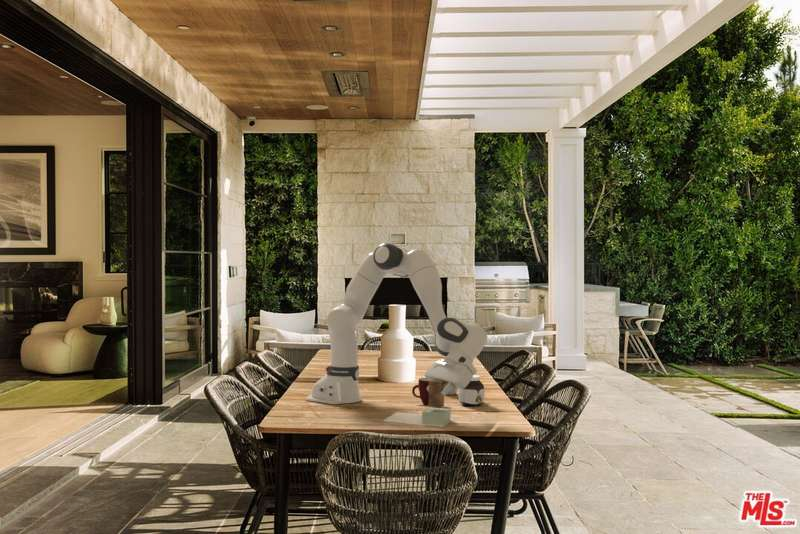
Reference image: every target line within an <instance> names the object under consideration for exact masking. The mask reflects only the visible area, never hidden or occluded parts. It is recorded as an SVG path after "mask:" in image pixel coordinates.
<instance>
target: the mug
mask: <svg viewBox="0 0 800 534" xmlns="http://www.w3.org/2000/svg"><path fill="white" fill-rule="evenodd" d="M428 386H429V380H428V379H427V378H426V377H421V378H418V384H415V385H414V386H413V387H412V389H411V391H412V392H411V393H412V395H413V396H414V397H415V398H418V399H420V401H421V402H422V404H423V405H424V404H425V405H426V406H429V391H428V390H427V387H428ZM417 388H418V391H419V395H417V394H416V392H415V390H416V389H417Z"/></svg>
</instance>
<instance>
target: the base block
mask: <svg viewBox="0 0 800 534" xmlns="http://www.w3.org/2000/svg"><path fill="white" fill-rule="evenodd" d="M421 415H422V423H424V424H435V425H444V426H446V425H445V424H448V423H449V422H450V421H451V420H450V417H451V409H450V408H443V407H441V408H435V407H429V406H428V407H427V408H425V409H424V410H422V411H421Z"/></svg>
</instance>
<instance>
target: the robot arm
mask: <svg viewBox="0 0 800 534" xmlns="http://www.w3.org/2000/svg"><path fill="white" fill-rule="evenodd" d="M388 274H392V275H393V276H397V277H402V278H409V280H410V282H411V284H412V287H413V289H414V291H415V292H416V294H417V296H418V298H419V300H420V301H421V304H422V305H423V307H424V309H425V312H426V314H427V316H428V319H429V322H430V325H431V326H432V329H433V332H434V335H435V337H434V339H435V340H434V346H435V349H436V351H437V353H438V354H440V355H441V356H444V357H445V358H444V359H440V360H437V361H435V362H433V363H432V364H431V365H430V366H429V368H427V369H426V372H424V378H427V379H428V380H429V381H430V380H432V379H436V380H442V381H444V385H447V386H446V387H445V388H444V389H441V391H440V394H441V395H443V396H444V397H445V396H447V395H446V394H447V392H449V391H451V390H452V389H453V388H454V387H455V388H457V389H464V388H465V387H466V386H467V385H468V384H469V382H470V381H471V379H472V378H473V375H477V373H478V370H477V369H476V367H475V366H474V364H473V363H474V360H475V359H476V358H477V356H479V355H480V353H481V352H482V351H483V349H484V347H485V345H486V344H487V342H488V333H487V332H486V330H485V328H483V327H482V326H481V325H480V324H478V323H469V322H468V323H467V322H463V321H459V320H458V319H456V318H454V317H447V315H446V314H445V311H444V308H443V302H442V299H443V298H442V297H443V295H442V294H443V293H442V290H443V284H442V280H441V277H440V273H439V271H438V268H437V267H436V265H435V263H434V261H433V260H432V258H431V257H430V255H429V254H428V252H427V251H426V250H425V249H422V248H416V249H412V250H408V249H406V248H404V247H401V246H397V245H394V244H392V243H388V242H387V243H381V244H379V245H377V246H376V248H375V250H374V251H371V252H369V253H368V254H367V255H366V256H365V258H364V259H363V260H362V261H361V263H360V264H359V266H358V267H357V269H356V271H355V273H354V274H353V276H352V278H351V280H350V281H349V283H348V284H347V287H346V289H345V293H344V296H343V299H342V301H341V303H340V304H339V305H337V306H335V307H333V308H332V309H331V310H330V311H329V312H328V314H327V316H326V325H327V328H328V335H329V336H328V337H329V340H330V341H329V342H330V365H329V366H327V367H325V368H324V371H325V372H326V374H325V375H324V376H322V377H321V378H320V379H319V380H317V381H316V382H315V383H314V384H313V386H312V390H311V394H309V395H307V396H306V401H308V402H309V401H310V402H314V403H315V402H317V403H323V404H331V405H340V404H351V403H352V404H354V403H358V402H361V401H362V397H361V393H360V387H359V377H360V367H359V364H358V362H359V346H358V342H357V335H356V329H358V327H359V326H360V325H361V323H362V321H363V318H364V316H365V314H366V312H367V310H368V307H369V306H370V303H371V301H372V299H373V298H374V295H375V294H376V292H377V290H378V289H379V287H380V285H381V283H382V281H383V279H384V278H385V276H386V275H388ZM427 390H428V391H429V386H428V387H427Z"/></svg>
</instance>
